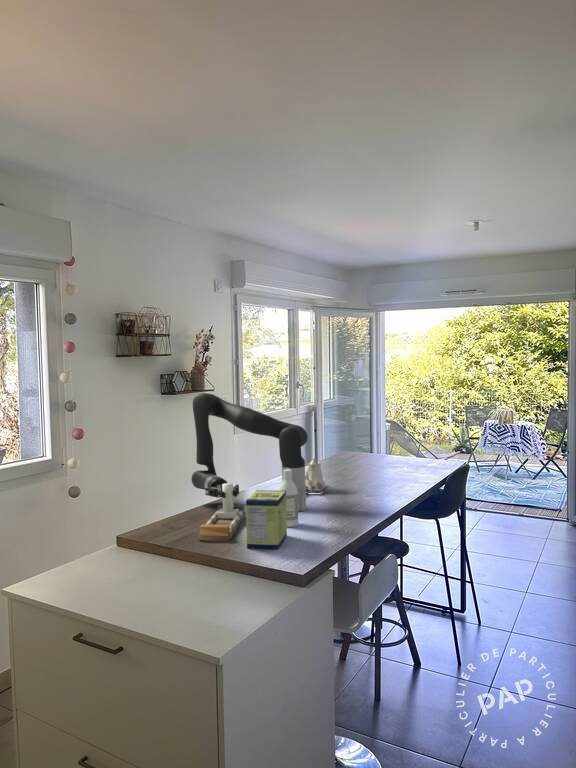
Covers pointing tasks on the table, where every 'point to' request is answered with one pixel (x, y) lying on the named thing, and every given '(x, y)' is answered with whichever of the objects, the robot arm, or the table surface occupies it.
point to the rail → (222, 522)
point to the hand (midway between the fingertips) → (230, 494)
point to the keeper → (227, 503)
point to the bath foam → (290, 498)
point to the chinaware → (314, 477)
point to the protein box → (266, 519)
